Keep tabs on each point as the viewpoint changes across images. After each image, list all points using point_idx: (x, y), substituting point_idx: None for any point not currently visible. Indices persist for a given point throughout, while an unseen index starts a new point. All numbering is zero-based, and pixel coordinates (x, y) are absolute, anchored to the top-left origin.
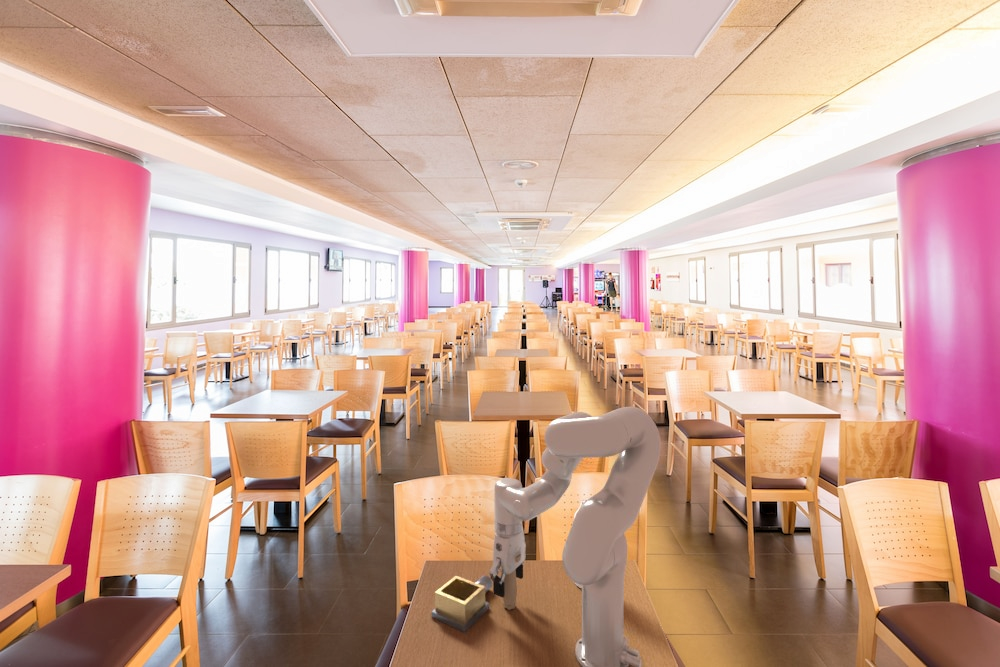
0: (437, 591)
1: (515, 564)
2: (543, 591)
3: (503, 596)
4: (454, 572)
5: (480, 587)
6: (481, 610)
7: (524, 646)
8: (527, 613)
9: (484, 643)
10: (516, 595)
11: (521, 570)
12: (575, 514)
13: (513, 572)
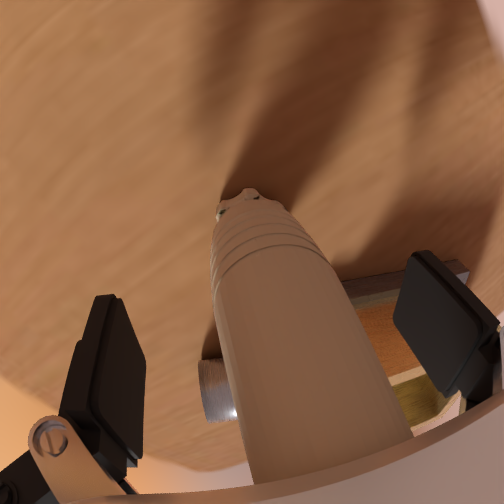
0: (438, 417)
1: (489, 502)
2: (6, 162)
3: (429, 252)
4: (207, 445)
5: (391, 384)
6: (380, 291)
7: (448, 16)
8: (237, 97)
9: (484, 171)
10: (244, 217)
11: (104, 362)
12: None
13: (365, 399)
